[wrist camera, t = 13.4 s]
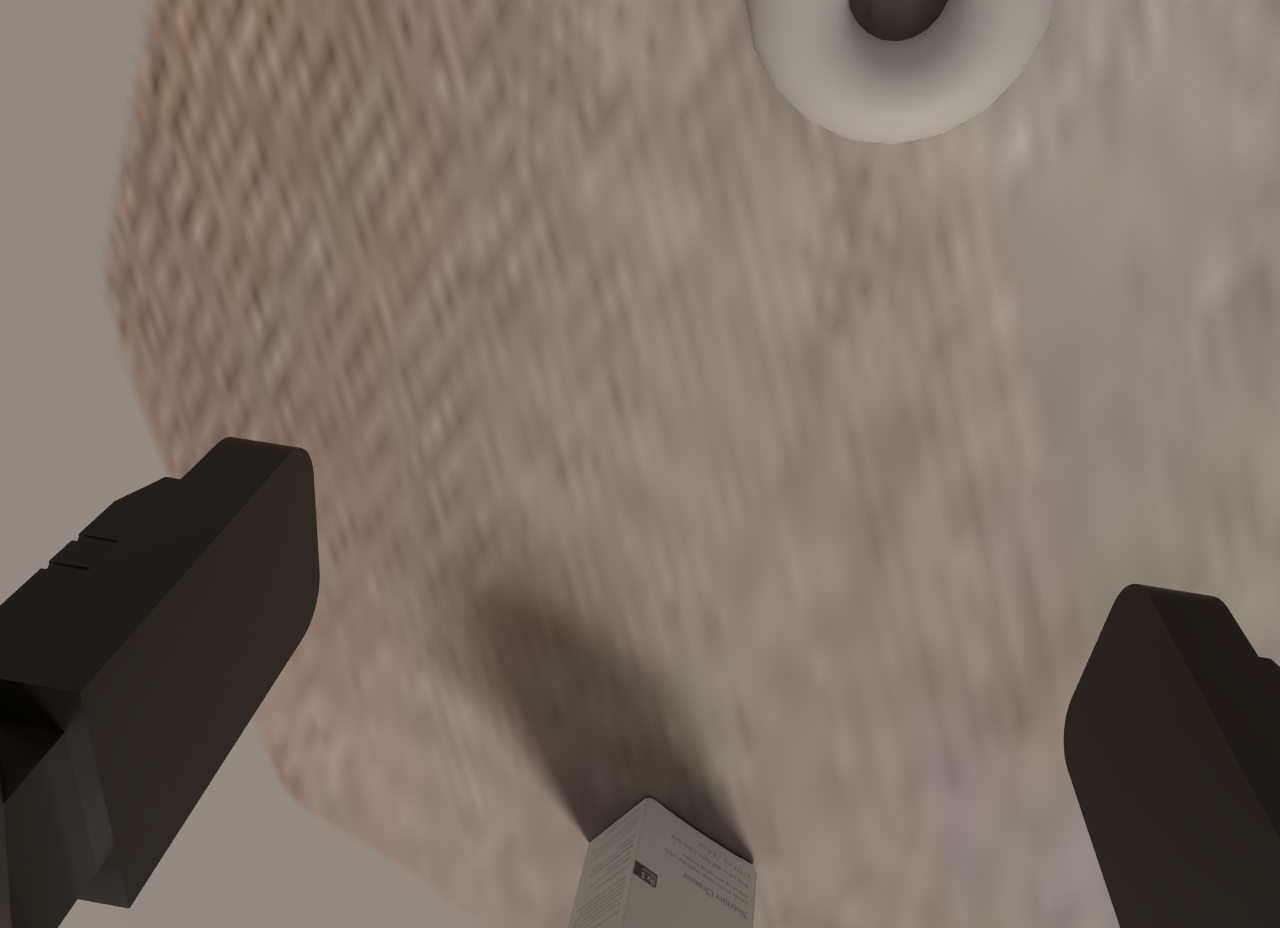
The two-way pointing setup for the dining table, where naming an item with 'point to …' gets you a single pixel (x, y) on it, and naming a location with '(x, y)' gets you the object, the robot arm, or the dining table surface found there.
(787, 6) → the donut
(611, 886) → the skincare box
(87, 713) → the robot arm
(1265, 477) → the dining table surface
